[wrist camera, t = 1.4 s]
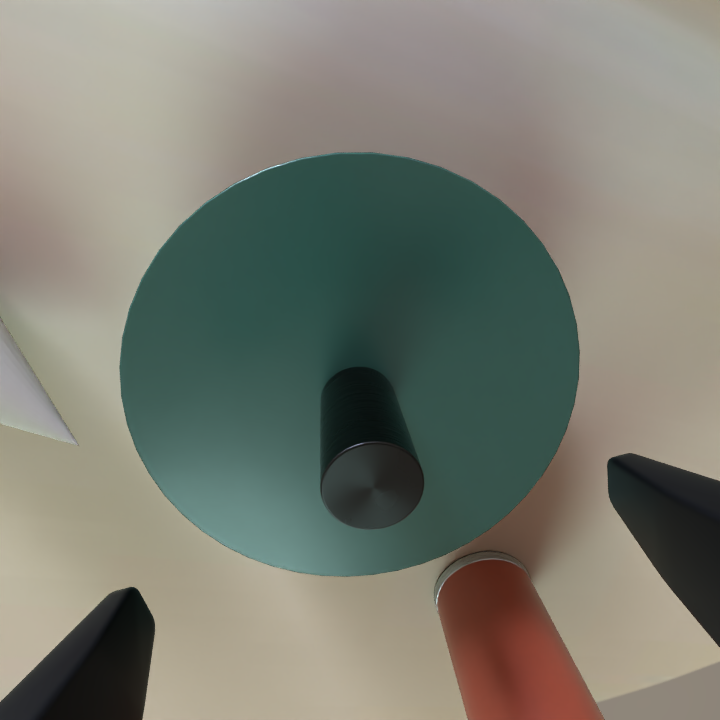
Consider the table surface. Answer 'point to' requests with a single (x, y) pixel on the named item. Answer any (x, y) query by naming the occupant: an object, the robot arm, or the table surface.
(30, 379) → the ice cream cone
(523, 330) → the pot lid
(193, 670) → the table surface
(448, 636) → the tin can
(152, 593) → the table surface
